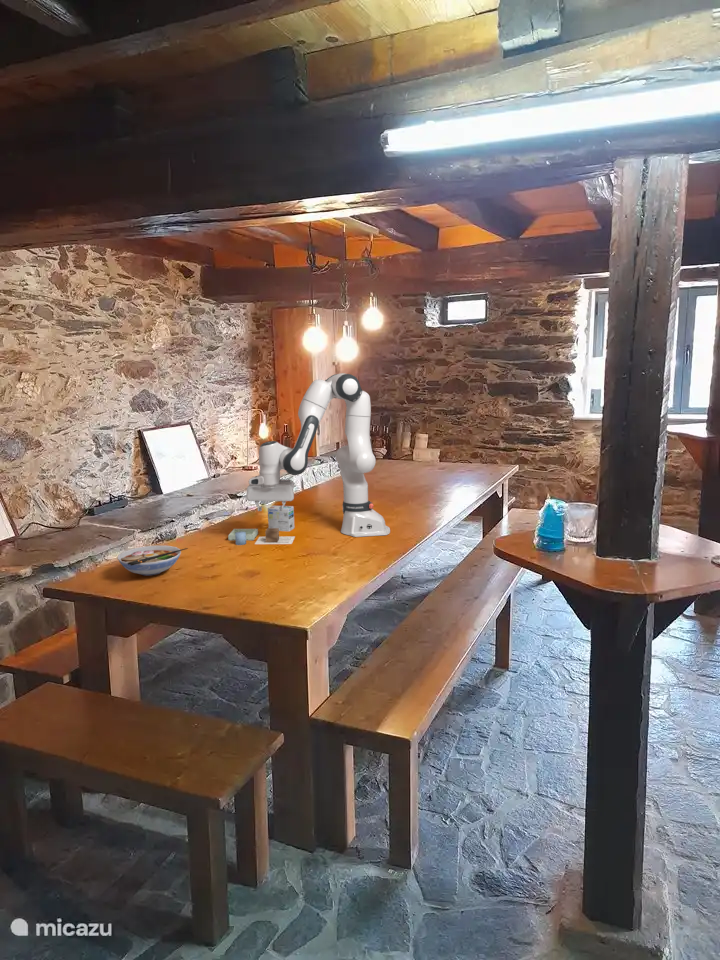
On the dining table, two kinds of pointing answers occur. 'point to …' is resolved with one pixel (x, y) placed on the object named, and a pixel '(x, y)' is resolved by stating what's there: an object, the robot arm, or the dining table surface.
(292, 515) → the light bulb box
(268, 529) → the walnut block
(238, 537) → the blue cylinder
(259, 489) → the robot arm
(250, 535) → the tray
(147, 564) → the ramen bowl
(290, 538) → the letter
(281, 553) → the dining table surface
